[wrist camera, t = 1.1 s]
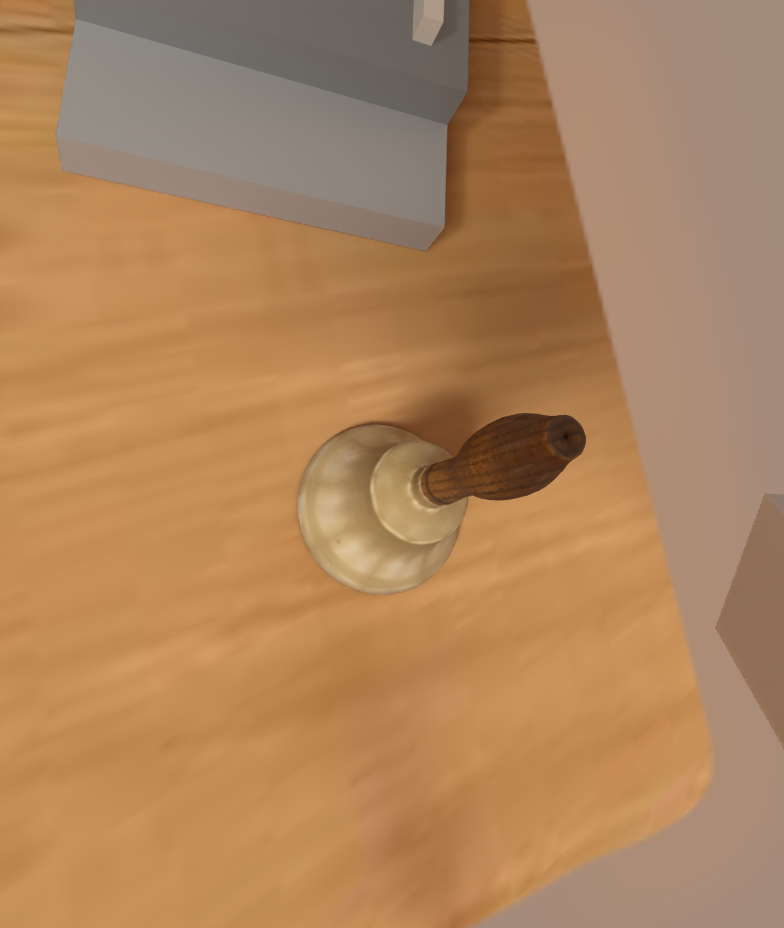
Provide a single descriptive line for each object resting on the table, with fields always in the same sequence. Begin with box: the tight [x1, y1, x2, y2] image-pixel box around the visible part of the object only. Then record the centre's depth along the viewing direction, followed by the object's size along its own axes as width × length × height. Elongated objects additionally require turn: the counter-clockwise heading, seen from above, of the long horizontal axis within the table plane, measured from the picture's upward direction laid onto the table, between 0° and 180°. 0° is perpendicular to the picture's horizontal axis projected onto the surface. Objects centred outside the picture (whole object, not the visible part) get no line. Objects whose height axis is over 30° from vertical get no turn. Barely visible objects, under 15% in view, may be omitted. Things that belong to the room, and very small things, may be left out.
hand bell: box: [297, 413, 586, 595], centre depth 27 cm, size 8×8×16 cm
